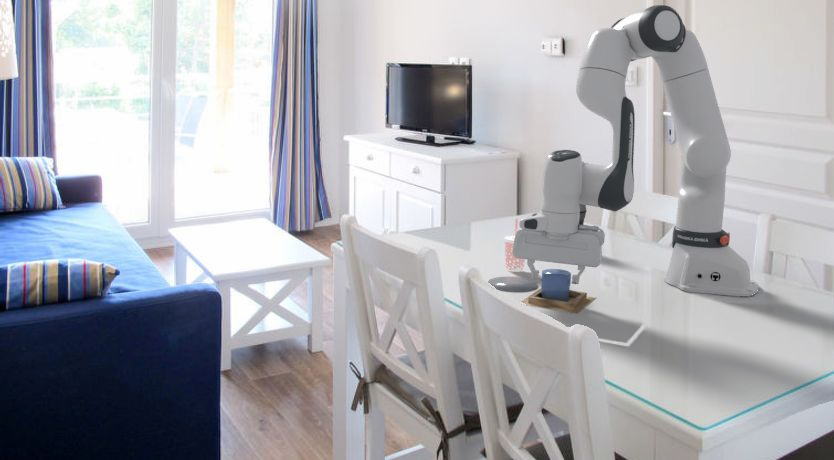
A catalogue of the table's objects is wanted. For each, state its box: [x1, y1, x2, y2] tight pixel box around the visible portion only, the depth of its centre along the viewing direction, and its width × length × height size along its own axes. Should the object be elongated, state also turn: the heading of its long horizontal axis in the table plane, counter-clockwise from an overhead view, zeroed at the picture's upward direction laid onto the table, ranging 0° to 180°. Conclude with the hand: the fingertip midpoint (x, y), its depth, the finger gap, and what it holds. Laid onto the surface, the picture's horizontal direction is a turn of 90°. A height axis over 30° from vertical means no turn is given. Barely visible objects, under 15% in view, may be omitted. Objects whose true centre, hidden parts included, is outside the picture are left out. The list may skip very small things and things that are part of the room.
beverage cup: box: [503, 218, 526, 273], centre depth 230 cm, size 6×6×14 cm
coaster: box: [487, 276, 538, 293], centre depth 217 cm, size 12×12×1 cm
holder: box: [520, 288, 597, 315], centre depth 205 cm, size 14×14×2 cm
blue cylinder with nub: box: [540, 268, 572, 302], centre depth 206 cm, size 10×6×6 cm
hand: (554, 280), depth 204 cm, fingers open, 8 cm apart
